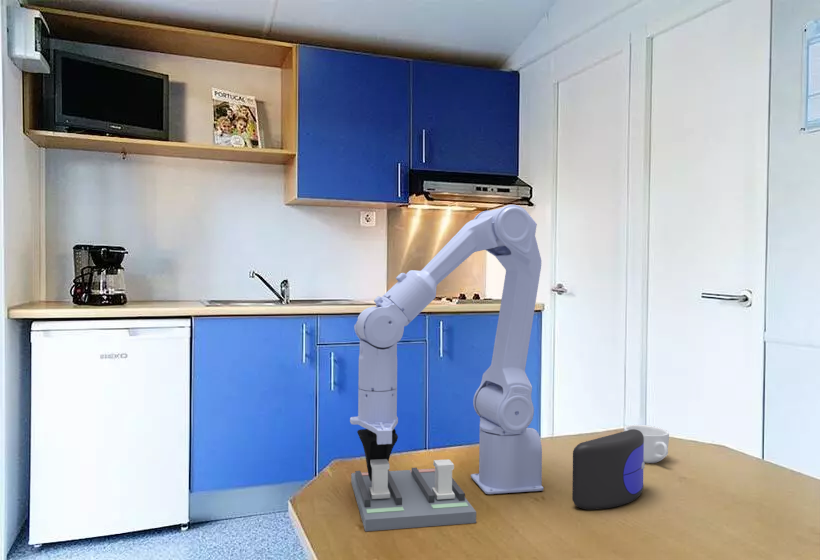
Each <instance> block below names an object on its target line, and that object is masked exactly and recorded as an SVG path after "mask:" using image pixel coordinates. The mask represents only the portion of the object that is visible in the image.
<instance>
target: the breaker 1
mask: <svg viewBox="0 0 820 560" xmlns="http://www.w3.org/2000/svg"><path fill="white" fill-rule="evenodd" d="M370 465H371V467H372V487H369V492H370V495H371V498H372V499H383V498H390V492H389V490H388V470H390V461H389V462H388V460H387V459H376V460H370Z"/></svg>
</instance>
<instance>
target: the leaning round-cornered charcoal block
mask: <svg viewBox="0 0 820 560" xmlns="http://www.w3.org/2000/svg"><path fill="white" fill-rule="evenodd" d="M645 465H646V463H644V437H643V434H642V433H641V432H640V431H639V430H635V429H631V430H627V431H624V430H623V431H621V432H617V433H613V434H609V435H605V436H602V437H598V438H595V439H594V438H593V439H590V440H586V441H581V442H580V443H578V444H577V445H576V446H575V447H574V448H573V451H572V490H571V491H572V493H571V495H572V496H571V497H572V503H573V504H574V505H575V506H576V507H577V508H580V509H582V510H604V509H613V508H617V507H620V506H623V505H624V506H625V505H626V504H630V503H631V502H633V501H635V500H636V499H637V498H639V496H641V494H642V493H643V490H644V469H645Z"/></svg>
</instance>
